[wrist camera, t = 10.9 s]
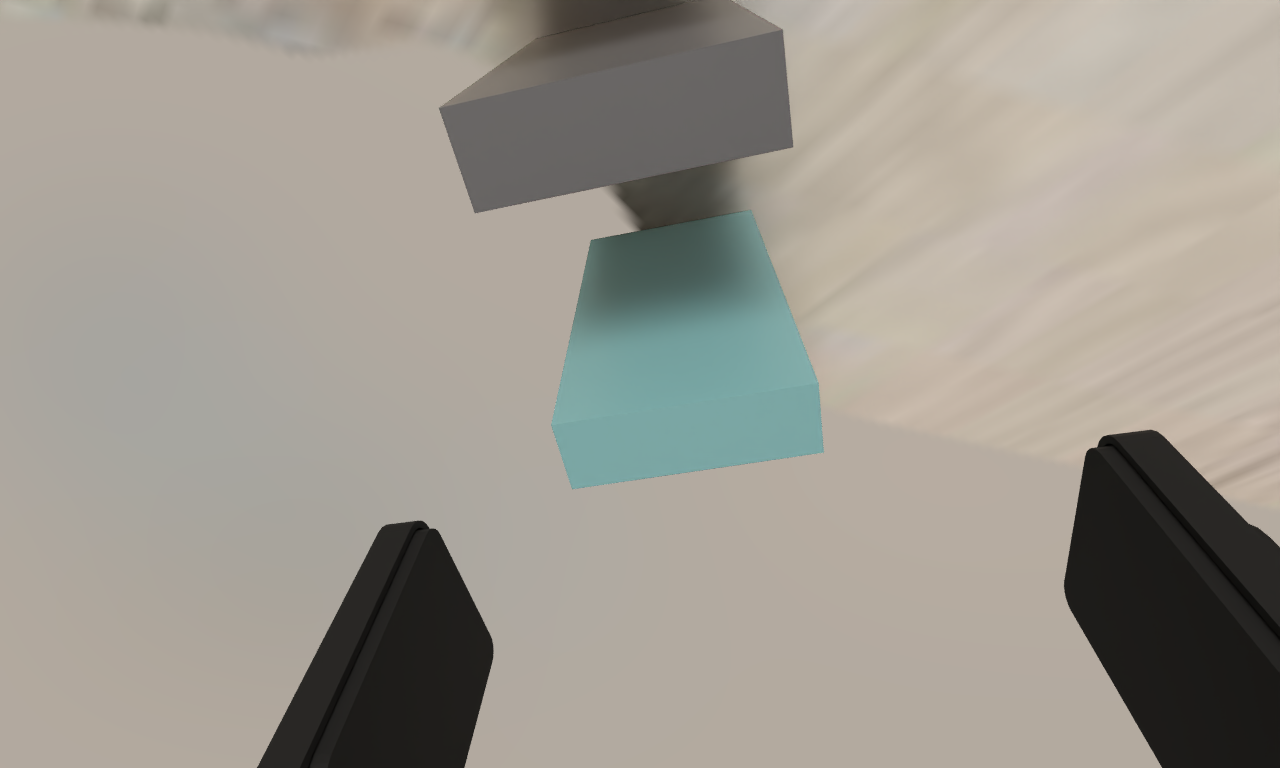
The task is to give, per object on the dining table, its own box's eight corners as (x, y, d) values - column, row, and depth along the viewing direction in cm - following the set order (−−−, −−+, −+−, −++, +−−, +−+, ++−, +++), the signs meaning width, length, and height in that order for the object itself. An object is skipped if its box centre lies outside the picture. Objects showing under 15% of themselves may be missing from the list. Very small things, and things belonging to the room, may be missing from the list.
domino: (729, 60, 19) (793, 147, 10) (552, 100, 19) (475, 212, 11) (721, -6, 18) (782, 29, 9) (536, 38, 19) (438, 107, 10)
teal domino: (591, 240, 22) (551, 424, 13) (750, 209, 21) (818, 383, 12) (602, 286, 22) (572, 489, 14) (756, 258, 22) (823, 452, 13)
